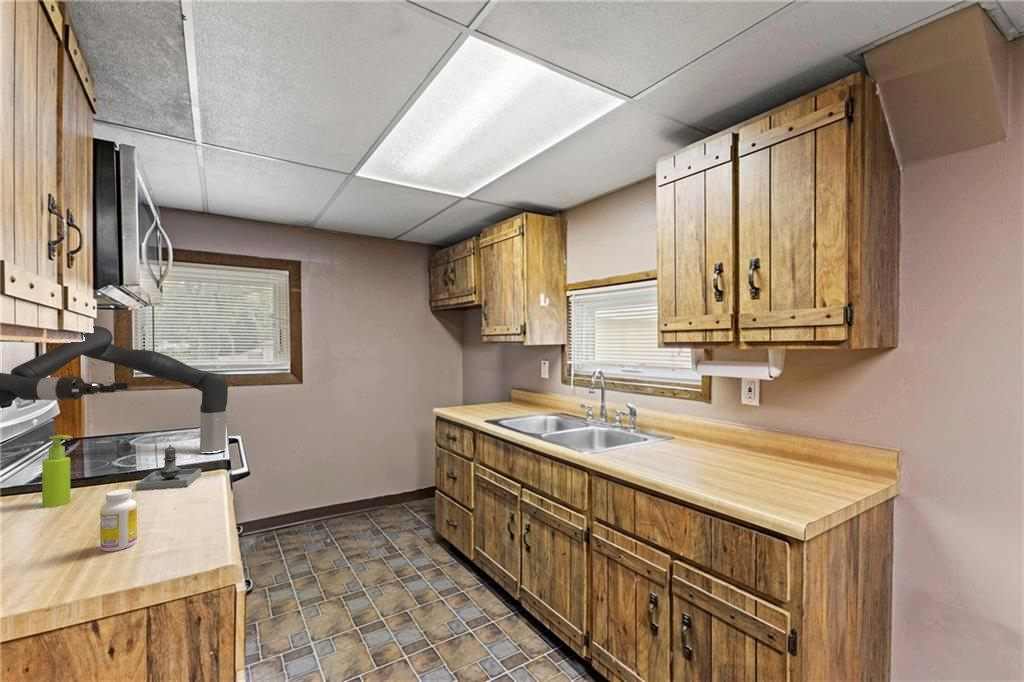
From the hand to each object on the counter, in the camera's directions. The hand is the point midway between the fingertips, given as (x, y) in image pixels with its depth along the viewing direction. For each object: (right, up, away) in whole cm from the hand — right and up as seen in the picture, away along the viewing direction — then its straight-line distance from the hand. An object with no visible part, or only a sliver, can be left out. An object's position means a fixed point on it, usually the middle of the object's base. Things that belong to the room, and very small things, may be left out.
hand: (121, 387), depth 158 cm
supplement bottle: (+37, -33, -46) cm, 67 cm away
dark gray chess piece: (+15, -32, +2) cm, 35 cm away
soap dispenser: (-3, -32, -19) cm, 38 cm away
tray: (+15, -32, +2) cm, 36 cm away
